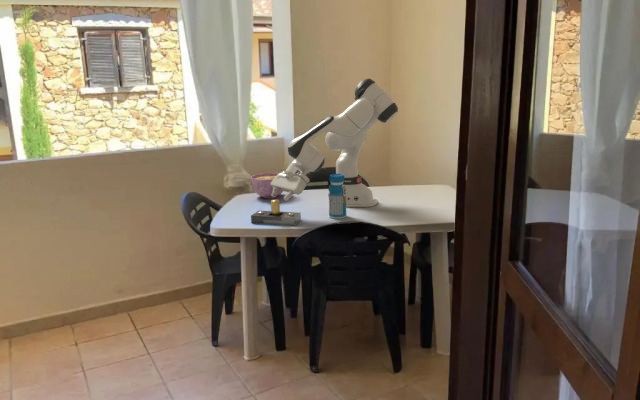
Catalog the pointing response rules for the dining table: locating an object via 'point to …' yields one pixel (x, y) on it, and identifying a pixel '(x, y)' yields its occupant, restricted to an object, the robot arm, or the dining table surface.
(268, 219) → the gray metal fixture block
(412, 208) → the dining table surface
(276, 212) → the brass pin
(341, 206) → the beverage bottle
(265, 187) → the bowl of food
